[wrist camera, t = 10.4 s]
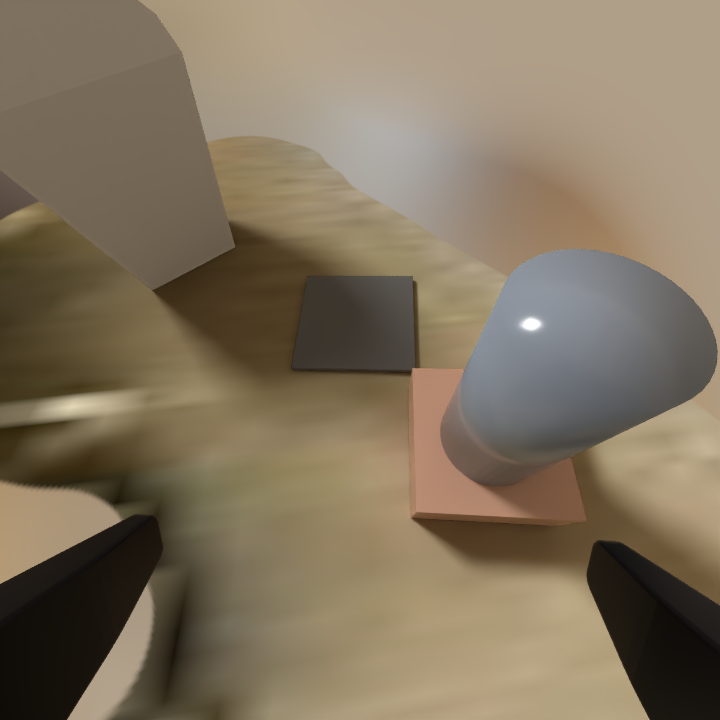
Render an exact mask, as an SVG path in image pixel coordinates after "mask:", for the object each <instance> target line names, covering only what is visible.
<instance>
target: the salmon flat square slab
mask: <svg viewBox="0 0 720 720" xmlns="http://www.w3.org/2000/svg"><path fill="white" fill-rule="evenodd" d="M464 370H465V369H430V368H412V373H411V379H410V385H409V391H408V403H409V457H410V510H411V518H423V519H441V520H459V521H477V522H495V523H513V524H531V525H549V526H556V525H563V524H571V523H579V522H586V521H587V518H586V514H585V510H584V506H583V502H582V498H581V494H580V490H579V486H578V482H577V478H576V475H575V471H574V467H573V463H572V459H571V457H570V458H568V459H566V460H564V461H562V462H560V463H558V464H556V465H553V466H551V467H549V468H547V469H545V470H543V471H541V472H539V473H537V474H535V475H533V476H531V477H529V478H526V479H524V480H522V481H520V482H518V483H516V484H513V485H510V486H504V487H494V486H487V485H483V484H480V483H478V482H475V481H473V480H471V479H469V478H468V477H466V476H465V475H463V474H462V473H461V472H460V471H459V470H458V469H457V468H456V467H455V466H454V465H453V464H452V463H451V461H450V460H449V459H448V457H447V455H446V453H445V451H444V449H443V446H442V442H441V437H440V425H441V420H442V417H443V415H444V412H445V410H446V408H447V406H448V404H449V402H450V400H451V397H452V395H453V393H454V391H455V389H456V387H457V385H458V383H459V380H460V378H461V376H462V374H463V372H464Z"/></svg>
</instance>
